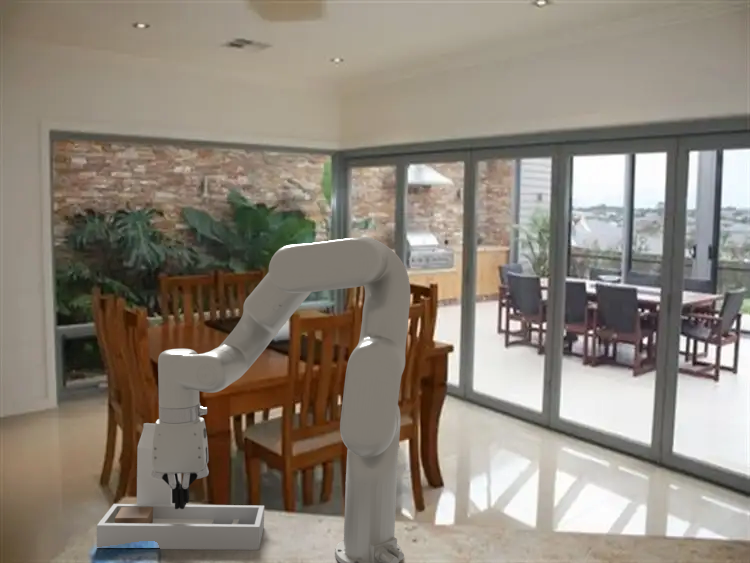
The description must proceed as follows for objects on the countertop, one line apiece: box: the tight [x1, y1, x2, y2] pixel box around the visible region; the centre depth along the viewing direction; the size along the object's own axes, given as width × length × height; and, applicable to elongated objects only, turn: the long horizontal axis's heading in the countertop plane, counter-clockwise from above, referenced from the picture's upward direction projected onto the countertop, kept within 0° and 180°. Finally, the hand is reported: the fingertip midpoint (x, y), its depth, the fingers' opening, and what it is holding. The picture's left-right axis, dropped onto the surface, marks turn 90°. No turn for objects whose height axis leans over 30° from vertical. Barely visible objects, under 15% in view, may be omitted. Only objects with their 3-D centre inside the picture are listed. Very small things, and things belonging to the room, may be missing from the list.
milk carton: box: [136, 422, 182, 505], centre depth 145 cm, size 7×7×19 cm
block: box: [115, 507, 153, 524], centre depth 133 cm, size 6×5×3 cm
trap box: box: [96, 503, 265, 551], centre depth 134 cm, size 30×10×4 cm, turn 94°
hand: (180, 506), depth 133 cm, fingers closed
